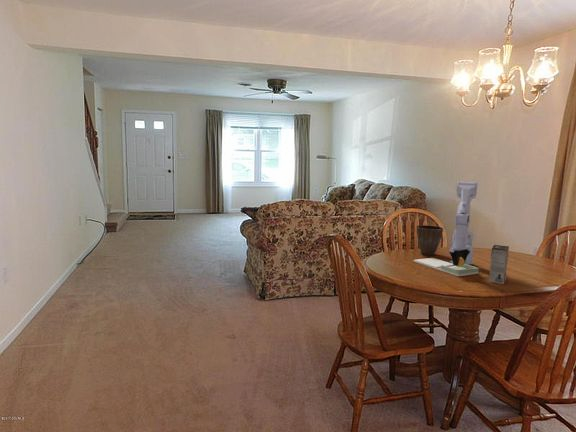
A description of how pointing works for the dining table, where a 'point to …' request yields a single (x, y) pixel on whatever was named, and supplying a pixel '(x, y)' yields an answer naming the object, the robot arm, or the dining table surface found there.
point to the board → (448, 267)
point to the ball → (460, 262)
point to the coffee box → (498, 264)
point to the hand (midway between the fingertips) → (458, 264)
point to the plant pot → (429, 238)
